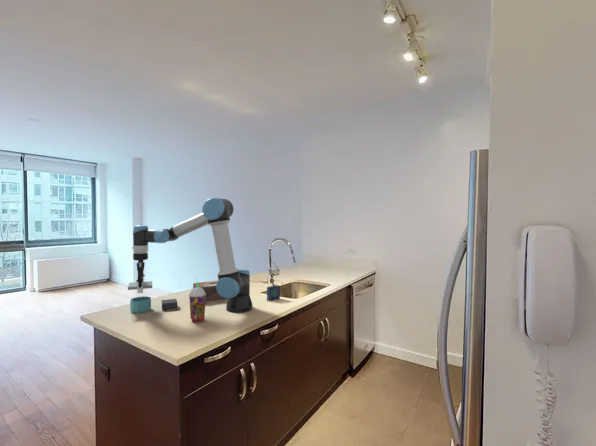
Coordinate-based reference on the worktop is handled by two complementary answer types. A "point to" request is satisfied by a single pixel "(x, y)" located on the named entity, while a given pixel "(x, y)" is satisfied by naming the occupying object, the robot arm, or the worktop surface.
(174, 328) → the worktop surface
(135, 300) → the bowl
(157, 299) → the worktop surface
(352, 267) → the worktop surface
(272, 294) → the blue box
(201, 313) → the smoothie
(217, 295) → the tissue box cover
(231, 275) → the robot arm
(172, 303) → the dark grey square block
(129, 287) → the grey flat square slab
